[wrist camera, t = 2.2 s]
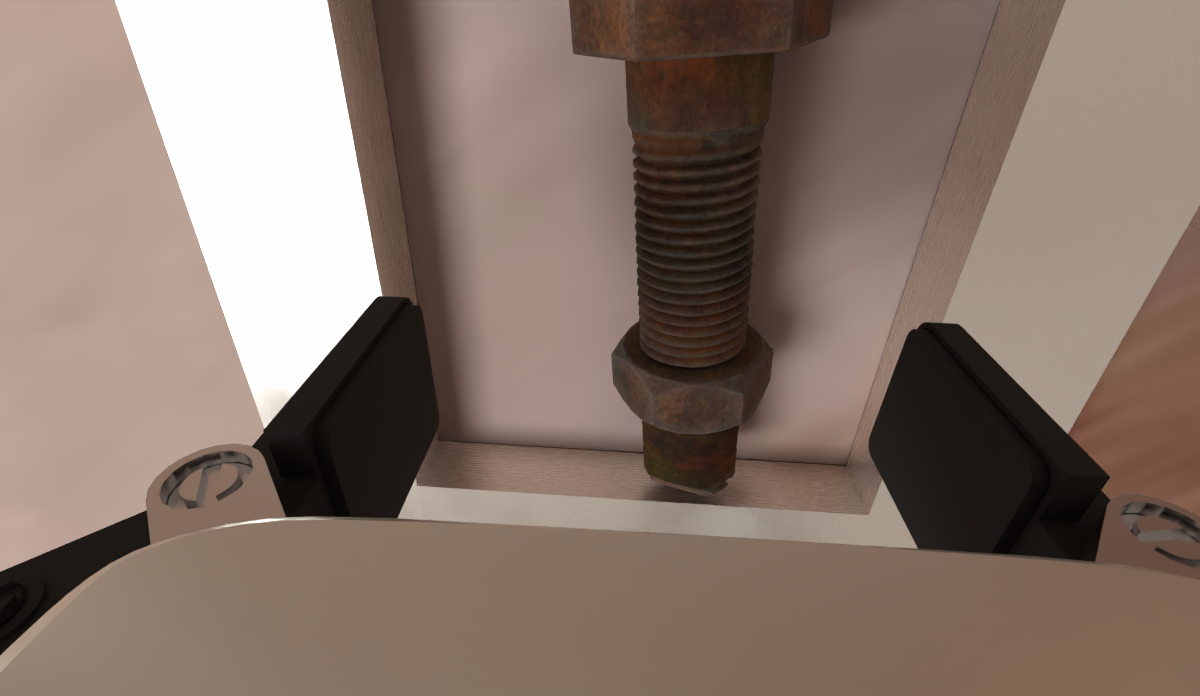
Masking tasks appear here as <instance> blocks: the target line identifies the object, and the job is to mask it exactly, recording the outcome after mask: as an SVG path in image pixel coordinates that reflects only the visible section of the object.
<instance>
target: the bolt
mask: <svg viewBox="0 0 1200 696" xmlns="http://www.w3.org/2000/svg"><path fill="white" fill-rule="evenodd" d="M833 2H834V0H569V5H570V18H571V31H572V45H573V53H574V54H577V55H585V56H593V57H601V58H610V59H618V60H625V65H626V87H627V108H628V124H629V127H630V128H631V130H632V137H633V139H634V142H635V144H634V147H633V153H634V154H635V155H637V157H636V158H635V159H634V160H633V166H634V167H635V168H636V169H637V170H636V171H635V172H634V180H635V181H637V183H636V185H635V186H634V190H635V193H636V195H637V196H636V198H635V206H636V207H637V209H636V212H635V218H636V221H637V222H636V225H635V229H636V232H637V235H636V244H637V247H636V252H637V255H638V257H637V264H638V268H637V274H638V279H637V285H638V286H639V289H638V296H639V303H638V305H639V316H640V319H639V322H637V323H636V324H635V325H633V326H632V327H631V328H630V329H629V330H628V331H627V333H626V334H625V335H624V336H623V338H622V339H621V340H620V342H619V343H618V345H617V347H616V348H615V350H614V351H613V353H612V355H611V356H612V371H613V383H614V385H615V387H616V388H617V390H618V392H619V394H620V395H621V397H622V399H623V400H624V401H625V402H626V404H627V405H628V406H629V408H630V409H631V410H632V411H633V412H634V413H635V414H636V415H637V416H638V417H639V418H640V419H642V420H643V421H642V424H643V429H642V430H643V442H644V447H643V452H644V454H643V455H644V467H645V470H646V472H647V473H648V475H650V478H651V480H653V481H655V482H656V483H659V484H662V485H666V486H670V487H673V488H677V489H680V490H684V491H688V492H692V493H696V494H700V495H703V496H707V495H712V494H715V493H717V492H719V491H721V490H723V489H724V488H725V487H726V486H727V485H728V483H727V482H726V481H727V480H728V479H729V478H732V477H733V475H734V473H735V465H736V451H737V449H736V444H737V434H738V429H739V426H738V425H741V424H742V423H743V422H745V421H746V420H747V419H749V417H750V416H751V415H752V413H753V412H754V411H755V409H756V407H757V406H758V404H759V402H760V400H761V398H762V397H763V394H764V392H765V390H766V388H767V385H768V383H769V381H770V376H771V367H772V358H773V349H772V348H771V347H770V346H769V344H768V343H767V342H766V341H765V340H764V338H763V337H762V336H761V335H760V334H759V333H758V332H757V331H756V330H755V329H754V328H753V327H752V326H750V325H749V324H748V323H747V322H748V315H747V314H748V311H749V305H748V303H749V300H750V296H749V291H750V287H751V284H750V279H751V268H752V256H753V249H752V248H753V245H754V239H753V235H754V226H753V223H754V220H755V214H754V211H755V209H756V200H755V199H756V198H757V197H758V190H757V185H758V184H759V183H760V178H759V175H758V172H759V171H760V167H761V162H760V161H759V159H760V158H761V155H762V150H761V147H760V145H761V144H762V142H763V134H764V126H765V124H766V122H767V121H768V118H769V110H770V99H771V89H772V78H773V68H774V57H775V52H782V51H789V50H792V49H795V48H798V47H800V46H803V45H806V44H808V43H811V42H814V41H816V40H819V39H822V38H825V37H827V36H828V35H829V33H830V25H831V17H832V9H833Z"/></svg>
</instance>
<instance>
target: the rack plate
mask: <svg viewBox="0 0 1200 696" xmlns="http://www.w3.org/2000/svg"><path fill="white" fill-rule="evenodd" d="M115 2H116V5H117V7H118V10H119V13H120V16H121V19H122V22H123V25H124V28H125V30H126V33H127V36H128V39H129V42H130V45H131V48H132V50H133V53H134V56H135V59H136V62H137V65H138V68H139V71H140V73H141V76H142V79H143V82H144V85H145V88H146V91H147V93H148V96H149V99H150V102H151V105H152V108H153V111H154V114H155V116H156V119H157V122H158V125H159V128H160V131H161V134H162V136H163V139H164V142H165V145H166V148H167V151H168V154H169V157H170V159H171V162H172V165H173V168H174V171H175V174H176V177H177V179H178V182H179V185H180V188H181V191H182V194H183V197H184V199H185V202H186V205H187V208H188V211H189V214H190V217H191V220H192V222H193V225H194V228H195V231H196V234H197V237H198V240H199V242H200V245H201V248H202V251H203V254H204V257H205V260H206V263H207V265H208V268H209V271H210V274H211V277H212V280H213V283H214V285H215V288H216V291H217V294H218V297H219V300H220V303H221V306H222V308H223V311H224V314H225V317H226V320H227V323H228V326H229V328H230V331H231V334H232V337H233V340H234V343H235V346H236V349H237V351H238V354H239V357H240V360H241V363H242V366H243V369H244V371H245V374H246V377H247V380H248V383H249V386H250V389H251V392H252V394H253V397H254V400H255V403H256V406H257V409H258V412H259V414H260V417H261V420H262V423H263V426H264V429H265V428H266V426H267V425H268V424H269V423H270V422H271V421H272V419H273V418H274V417H275V416H276V415H277V414H278V412H279V411H280V410H281V409H282V408H283V406H284V405H285V404H286V403H287V402H288V401H289V399H290V398H291V397H292V396H293V395H294V393H295V392H296V391H297V390H298V389H299V388H300V386H301V385H302V384H303V383H304V382H305V381H306V379H307V378H308V377H309V376H310V375H311V373H312V372H313V371H314V370H315V369H316V368H317V366H318V365H319V364H320V363H321V362H322V360H323V359H324V358H325V357H326V356H327V355H328V353H329V352H330V351H331V350H332V349H333V348H334V346H335V345H336V344H337V343H338V342H339V340H340V339H341V338H342V337H343V336H344V335H345V333H346V332H347V331H348V330H349V329H350V328H351V326H352V325H353V324H354V323H355V322H356V320H357V319H358V318H359V317H360V316H361V315H362V313H363V312H364V311H365V310H366V309H367V307H368V306H369V305H370V304H371V303H372V302H373V300H374V299H375V298H376V297H378V296H390V297H408V298H409V299H411V301H412V303H413V305H418V303H417V296H416V289H415V283H414V276H413V270H412V263H411V256H410V250H409V243H408V237H407V230H406V223H405V217H404V210H403V204H402V197H401V190H400V184H399V177H398V171H397V164H396V157H395V151H394V144H393V137H392V131H391V124H390V118H389V111H388V104H387V98H386V91H385V85H384V78H383V71H382V65H381V58H380V52H379V45H378V38H377V32H376V25H375V19H374V12H373V5H372V0H115ZM1199 206H1200V0H1001V2H1000V5H999V8H998V11H997V14H996V17H995V20H994V23H993V26H992V29H991V32H990V35H989V38H988V41H987V44H986V47H985V50H984V53H983V56H982V59H981V62H980V65H979V68H978V71H977V74H976V77H975V80H974V83H973V86H972V89H971V92H970V95H969V98H968V101H967V104H966V107H965V110H964V113H963V116H962V119H961V122H960V125H959V128H958V131H957V134H956V137H955V140H954V143H953V146H952V149H951V152H950V155H949V158H948V161H947V164H946V167H945V170H944V173H943V176H942V179H941V182H940V185H939V188H938V191H937V194H936V197H935V200H934V203H933V206H932V209H931V212H930V215H929V218H928V221H927V224H926V227H925V230H924V233H923V236H922V239H921V242H920V245H919V248H918V251H917V254H916V258H915V261H914V264H913V267H912V270H911V273H910V276H909V279H908V282H907V285H906V288H905V291H904V294H903V297H902V300H901V303H900V306H899V309H898V312H897V315H896V318H895V321H894V324H893V327H892V330H891V333H890V336H889V339H888V342H887V345H886V348H885V351H884V354H883V357H882V360H881V363H880V366H879V369H878V372H877V375H876V378H875V381H874V384H873V387H872V390H871V393H870V396H869V399H868V402H867V405H866V408H865V411H864V414H863V417H862V420H861V423H860V426H859V429H858V432H857V435H856V438H855V441H854V444H853V447H852V450H851V453H850V456H849V459H848V462H847V465H846V466H837V465H821V464H805V463H788V462H772V461H756V460H740V459H736V465H735V473H734V475H733V477H732V478H729V479H728V480H727V481H726V482H727V483H728V485H727V486H726V487H725V488H724V489H723V490H721V491H719V492H717V493H715V494H712V495H707V496H703V495H700V494H696V493H692V492H688V491H684V490H680V489H677V488H673V487H670V486H666V485H662V484H659V483H656V482H655V481H653V480H651V478H650V475H648V473H647V472H646V470H645V467H644V455H643V453H627V452H610V451H594V450H578V449H562V448H546V447H529V446H513V445H497V444H481V443H465V442H449V441H438V435H437V431H436V434H435V436H434V438H433V441H432V443H431V445H430V447H429V449H428V452H427V454H426V456H425V458H424V461H423V463H422V465H421V467H420V469H419V472H418V474H417V476H416V478H415V481H414V483H413V485H412V487H411V489H410V492H409V494H408V496H407V498H406V501H405V503H404V505H403V507H402V509H401V512H400V514H399V516H398V518H400V519H418V520H437V521H455V522H474V523H492V524H511V525H529V526H548V527H566V528H584V529H601V530H619V531H636V532H653V533H670V534H688V535H705V536H721V537H738V538H755V539H771V540H788V541H804V542H820V543H837V544H853V545H869V546H884V547H900V548H915V549H918V548H917V546H916V544H915V542H914V540H913V538H912V536H911V534H910V532H909V530H908V528H907V526H906V524H905V522H904V521H903V519H902V517H901V515H900V513H899V511H898V509H897V507H896V505H895V503H894V501H893V499H892V497H891V495H890V493H889V491H888V489H887V487H886V485H885V483H884V481H883V479H882V478H881V476H880V474H879V472H878V470H877V468H876V466H875V464H874V462H873V460H872V458H871V456H870V453H869V446H868V443H869V437H870V434H871V431H872V428H873V426H874V423H875V420H876V418H877V415H878V412H879V410H880V407H881V404H882V402H883V399H884V396H885V393H886V391H887V388H888V385H889V383H890V380H891V377H892V375H893V372H894V369H895V366H896V364H897V361H898V358H899V356H900V353H901V350H902V348H903V345H904V342H905V339H906V337H907V335H908V333H909V332H910V331H911V330H913V329H917V328H918V327H919V326H920V325H921V324H922V323H924V322H934V323H954V324H959V325H960V326H962V327H963V328H964V329H965V330H966V331H967V332H968V333H969V334H970V335H971V336H972V337H973V338H974V339H975V340H976V341H977V342H978V343H979V344H980V345H981V347H982V348H983V349H984V350H985V351H986V352H987V353H988V354H989V355H990V356H991V357H992V358H993V359H994V360H995V361H996V362H997V363H998V364H999V365H1000V366H1001V367H1002V368H1003V369H1004V370H1005V371H1006V372H1007V373H1008V374H1009V375H1010V376H1011V377H1012V378H1013V379H1014V380H1015V381H1016V382H1017V383H1018V384H1019V385H1020V386H1021V387H1022V388H1023V389H1024V390H1025V391H1026V392H1027V393H1028V394H1029V395H1030V396H1031V397H1032V398H1033V399H1034V400H1035V401H1036V402H1037V403H1038V404H1039V405H1040V406H1041V407H1042V408H1043V409H1044V410H1045V411H1046V412H1047V414H1048V415H1049V416H1050V417H1051V418H1052V419H1053V420H1054V421H1055V422H1056V423H1057V424H1058V425H1059V426H1060V427H1061V428H1062V429H1063V430H1064V431H1065V432H1066V433H1067V434H1068V433H1069V431H1070V429H1071V428H1072V426H1073V424H1074V422H1075V421H1076V419H1077V417H1078V415H1079V414H1080V412H1081V410H1082V408H1083V407H1084V405H1085V403H1086V402H1087V400H1088V398H1089V396H1090V395H1091V393H1092V391H1093V389H1094V388H1095V386H1096V384H1097V382H1098V381H1099V379H1100V377H1101V376H1102V374H1103V372H1104V370H1105V369H1106V367H1107V365H1108V363H1109V362H1110V360H1111V358H1112V356H1113V355H1114V353H1115V351H1116V349H1117V348H1118V346H1119V344H1120V343H1121V341H1122V339H1123V337H1124V336H1125V334H1126V332H1127V330H1128V329H1129V327H1130V325H1131V323H1132V322H1133V320H1134V318H1135V317H1136V315H1137V313H1138V311H1139V310H1140V308H1141V306H1142V304H1143V303H1144V301H1145V299H1146V297H1147V296H1148V294H1149V292H1150V291H1151V289H1152V287H1153V285H1154V284H1155V282H1156V280H1157V278H1158V277H1159V275H1160V273H1161V271H1162V270H1163V268H1164V266H1165V264H1166V263H1167V261H1168V259H1169V258H1170V256H1171V254H1172V252H1173V251H1174V249H1175V247H1176V245H1177V244H1178V242H1179V240H1180V238H1181V237H1182V235H1183V233H1184V232H1185V230H1186V228H1187V226H1188V225H1189V223H1190V221H1191V219H1192V218H1193V216H1194V214H1195V212H1196V211H1197V209H1198V207H1199Z"/></svg>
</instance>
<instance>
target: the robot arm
mask: <svg viewBox="0 0 1200 696" xmlns="http://www.w3.org/2000/svg"><path fill="white" fill-rule="evenodd" d="M438 422H439V414H438V407H437V401H436V395H435V389H434V382H433V376H432V370H431V364H430V358H429V351H428V345H427V339H426V333H425V327H424V320H423V314H422V310H421V308H420V306H419V305H413V303H412V301H411V299H409V298H408V297H390V296H378V297H376V298H375V299H374V300H373V302H372V303H371V304H370V305H369V306H368V307H367V309H366V310H365V311H364V312H363V313H362V315H361V316H360V317H359V318H358V319H357V320H356V322H355V323H354V324H353V325H352V326H351V328H350V329H349V330H348V331H347V332H346V333H345V335H344V336H343V337H342V338H341V339H340V340H339V342H338V343H337V344H336V345H335V346H334V348H333V349H332V350H331V351H330V352H329V353H328V355H327V356H326V357H325V358H324V359H323V360H322V362H321V363H320V364H319V365H318V366H317V368H316V369H315V370H314V371H313V372H312V373H311V375H310V376H309V377H308V378H307V379H306V381H305V382H304V383H303V384H302V385H301V386H300V388H299V389H298V390H297V391H296V392H295V393H294V395H293V396H292V397H291V398H290V399H289V401H288V402H287V403H286V404H285V405H284V406H283V408H282V409H281V410H280V411H279V412H278V414H277V415H276V416H275V417H274V418H273V419H272V421H271V422H270V423H269V424H268V425H267V426H266V428H265V429H264V430H263V431H264V433H263V434H262V435H261V436H260V438H259V439H258V440H257V441H256V442H255V444H254V445H253V446H252V447H251V446H248V445H241V444H227V445H217V446H214V447H210V448H206V449H202V450H199V451H197V452H195V453H192V454H190V455H188V456H185V457H183V458H182V459H180V460H178V461H177V462H175V463H173V464H172V465H170V466H169V467H167V468H166V469H165V470H164V471H163V472H162V473H161V474H160V475H158V476H157V477H156V478H155V480H154V481H153V483H152V484H151V486H150V487H149V489H148V492H147V497H146V507H147V510H146V511H144V512H142V513H139V514H137V515H134V516H132V517H130V518H127V519H125V520H123V521H120V522H118V523H115V524H113V525H111V526H108V527H106V528H104V529H101V530H99V531H96V532H94V533H92V534H89V535H87V536H84V537H82V538H80V539H77V540H75V541H73V542H70V543H68V544H65V545H63V546H61V547H58V548H56V549H54V550H51V551H49V552H46V553H44V554H42V555H39V556H37V557H35V558H32V559H30V560H27V561H25V562H23V563H20V564H18V565H16V566H13V567H11V568H8V569H6V570H4V571H1V572H0V696H1200V517H1199V516H1198V515H1196V514H1194V513H1192V512H1190V511H1188V510H1186V509H1184V508H1182V507H1179V506H1177V505H1175V504H1172V503H1169V502H1166V501H1164V500H1161V499H1158V498H1154V497H1149V496H1144V495H1139V494H1122V495H1119V496H1116V497H1114V498H1112V499H1111V500H1110V499H1109V498H1108V497H1107V496H1106V495H1105V494H1104V493H1103V492H1102V491H1101V489H1102V488H1103V487H1104V485H1105V484H1106V482H1107V481H1108V479H1109V478H1110V476H1109V475H1108V474H1107V473H1106V472H1105V471H1104V470H1103V469H1102V468H1101V467H1100V466H1099V465H1098V464H1097V463H1096V462H1095V461H1094V460H1093V459H1092V458H1091V457H1090V456H1089V455H1088V454H1087V453H1086V452H1085V451H1084V450H1083V449H1082V448H1081V447H1080V446H1079V445H1078V444H1077V443H1076V442H1075V441H1074V440H1073V439H1072V438H1071V437H1070V436H1069V435H1068V434H1067V433H1066V432H1065V431H1064V430H1063V429H1062V428H1061V427H1060V426H1059V425H1058V424H1057V423H1056V422H1055V421H1054V420H1053V419H1052V418H1051V417H1050V416H1049V415H1048V414H1047V412H1046V411H1045V410H1044V409H1043V408H1042V407H1041V406H1040V405H1039V404H1038V403H1037V402H1036V401H1035V400H1034V399H1033V398H1032V397H1031V396H1030V395H1029V394H1028V393H1027V392H1026V391H1025V390H1024V389H1023V388H1022V387H1021V386H1020V385H1019V384H1018V383H1017V382H1016V381H1015V380H1014V379H1013V378H1012V377H1011V376H1010V375H1009V374H1008V373H1007V372H1006V371H1005V370H1004V369H1003V368H1002V367H1001V366H1000V365H999V364H998V363H997V362H996V361H995V360H994V359H993V358H992V357H991V356H990V355H989V354H988V353H987V352H986V351H985V350H984V349H983V348H982V347H981V345H980V344H979V343H978V342H977V341H976V340H975V339H974V338H973V337H972V336H971V335H970V334H969V333H968V332H967V331H966V330H965V329H964V328H963V327H962V326H960V325H959V324H954V323H934V322H924V323H922V324H921V325H920V326H919V327H918V328H917V329H913V330H911V331H910V332H909V333H908V335H907V337H906V339H905V342H904V345H903V348H902V350H901V353H900V356H899V358H898V361H897V364H896V366H895V369H894V372H893V375H892V377H891V380H890V383H889V385H888V388H887V391H886V393H885V396H884V399H883V402H882V404H881V407H880V410H879V412H878V415H877V418H876V420H875V423H874V426H873V428H872V431H871V434H870V437H869V443H868V446H869V453H870V456H871V458H872V460H873V462H874V464H875V466H876V468H877V470H878V472H879V474H880V476H881V478H882V479H883V481H884V483H885V485H886V487H887V489H888V491H889V493H890V495H891V497H892V499H893V501H894V503H895V505H896V507H897V509H898V511H899V513H900V515H901V517H902V519H903V521H904V522H905V524H906V526H907V528H908V530H909V532H910V534H911V536H912V538H913V540H914V542H915V544H916V546H917V548H918V549H915V548H900V547H884V546H869V545H853V544H837V543H820V542H804V541H788V540H771V539H755V538H738V537H721V536H705V535H688V534H670V533H653V532H636V531H619V530H601V529H584V528H566V527H548V526H529V525H511V524H492V523H474V522H455V521H437V520H418V519H400V518H398V516H399V514H400V512H401V509H402V507H403V505H404V503H405V501H406V498H407V496H408V494H409V492H410V489H411V487H412V485H413V483H414V481H415V478H416V476H417V474H418V472H419V469H420V467H421V465H422V463H423V461H424V458H425V456H426V454H427V452H428V449H429V447H430V445H431V443H432V441H433V438H434V436H435V434H436V431H437V428H438Z"/></svg>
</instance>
